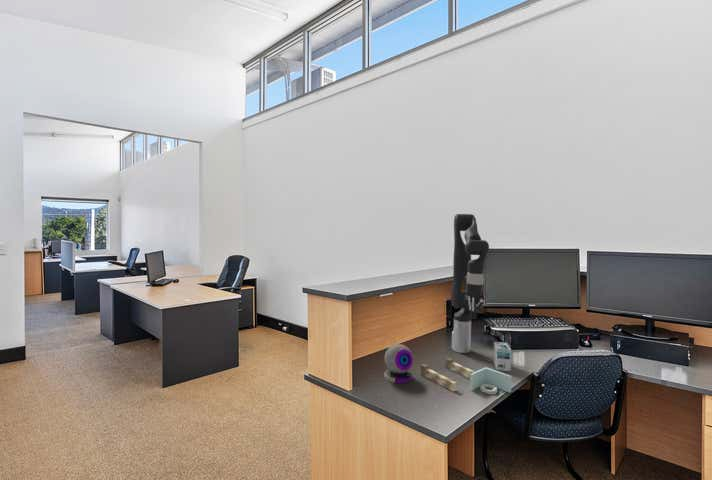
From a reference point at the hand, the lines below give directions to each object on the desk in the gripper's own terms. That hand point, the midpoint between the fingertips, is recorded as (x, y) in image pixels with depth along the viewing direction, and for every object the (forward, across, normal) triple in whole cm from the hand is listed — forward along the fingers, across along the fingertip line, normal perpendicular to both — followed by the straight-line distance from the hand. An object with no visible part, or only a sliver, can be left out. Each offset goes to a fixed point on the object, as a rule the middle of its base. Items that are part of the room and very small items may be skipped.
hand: (472, 318), depth 177 cm
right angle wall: (+26, +20, -9) cm, 34 cm away
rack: (+26, +2, -15) cm, 30 cm away
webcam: (+26, -11, -35) cm, 45 cm away
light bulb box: (+26, +4, +17) cm, 32 cm away
